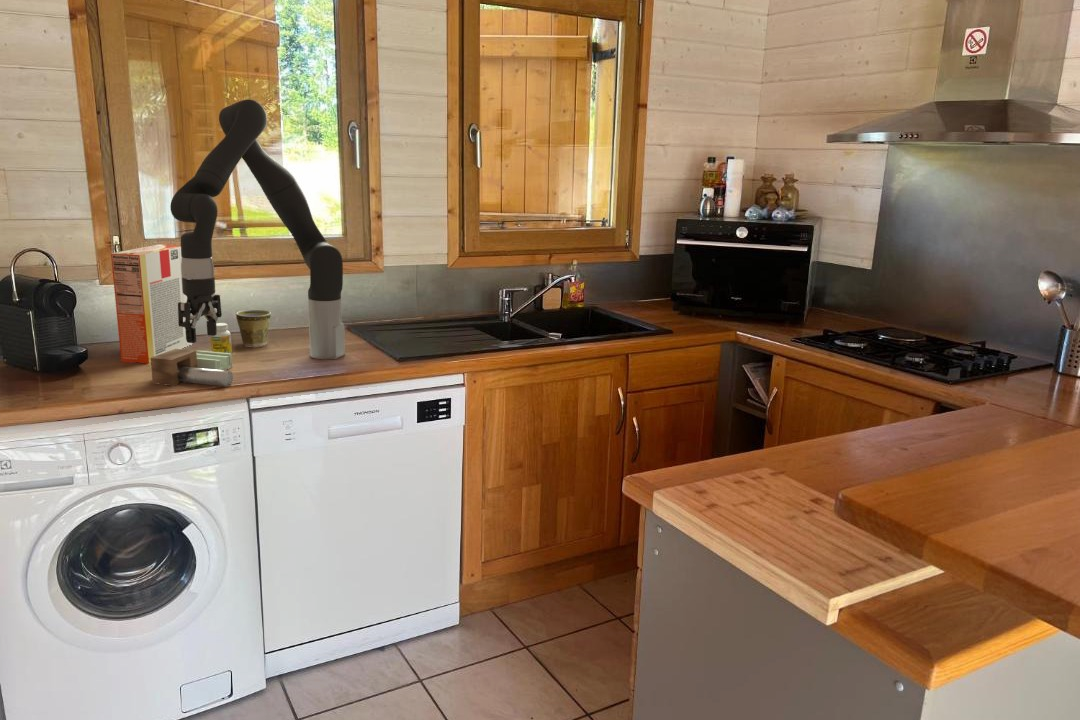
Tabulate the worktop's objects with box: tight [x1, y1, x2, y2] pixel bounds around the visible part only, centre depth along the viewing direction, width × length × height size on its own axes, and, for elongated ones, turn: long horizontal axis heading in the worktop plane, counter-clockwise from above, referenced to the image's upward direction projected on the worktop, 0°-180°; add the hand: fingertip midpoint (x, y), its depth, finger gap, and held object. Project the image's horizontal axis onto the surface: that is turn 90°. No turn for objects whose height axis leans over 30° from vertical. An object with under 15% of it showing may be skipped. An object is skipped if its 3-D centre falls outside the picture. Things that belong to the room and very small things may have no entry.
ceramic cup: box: [235, 309, 272, 348], centre depth 240 cm, size 13×10×10 cm
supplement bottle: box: [210, 322, 233, 356], centre depth 224 cm, size 5×5×10 cm
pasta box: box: [110, 243, 194, 364], centre depth 223 cm, size 23×8×30 cm, turn 175°
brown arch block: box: [150, 349, 197, 386], centre depth 201 cm, size 6×10×7 cm, turn 169°
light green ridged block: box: [196, 350, 233, 371], centre depth 212 cm, size 10×8×4 cm
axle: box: [177, 366, 234, 387], centre depth 200 cm, size 20×4×4 cm, turn 79°
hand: (201, 338), depth 197 cm, fingers open, 8 cm apart
